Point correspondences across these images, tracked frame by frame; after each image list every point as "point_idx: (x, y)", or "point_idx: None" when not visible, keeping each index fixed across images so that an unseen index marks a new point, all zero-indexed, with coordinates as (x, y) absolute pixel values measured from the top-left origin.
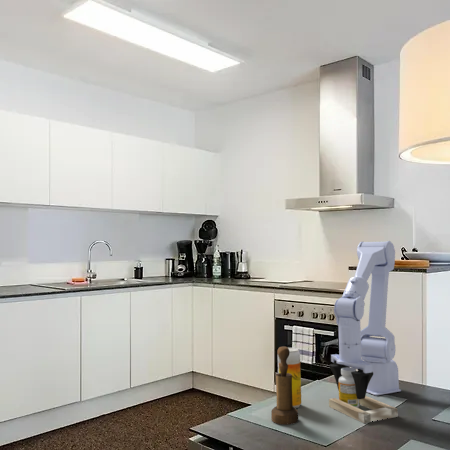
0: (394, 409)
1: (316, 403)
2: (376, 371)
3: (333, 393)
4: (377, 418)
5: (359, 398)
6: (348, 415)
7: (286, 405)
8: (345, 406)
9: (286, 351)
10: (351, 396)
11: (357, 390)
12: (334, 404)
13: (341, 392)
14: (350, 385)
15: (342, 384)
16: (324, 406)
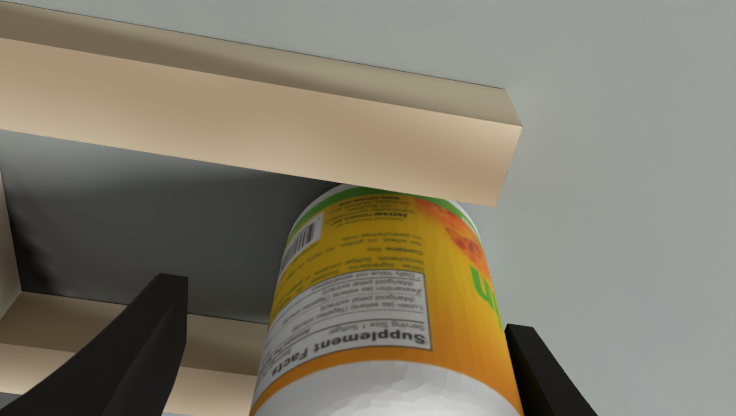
0: None
1: (689, 65)
2: None
3: (710, 381)
4: None
5: (152, 285)
6: (149, 28)
7: None
8: (180, 70)
9: None
10: (285, 287)
11: (106, 334)
12: (406, 93)
13: (401, 269)
14: (272, 386)
15: (378, 349)
16: (553, 59)
